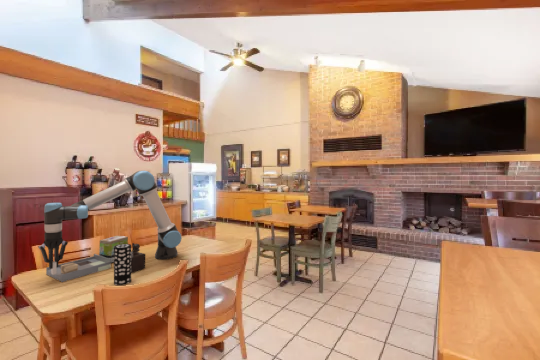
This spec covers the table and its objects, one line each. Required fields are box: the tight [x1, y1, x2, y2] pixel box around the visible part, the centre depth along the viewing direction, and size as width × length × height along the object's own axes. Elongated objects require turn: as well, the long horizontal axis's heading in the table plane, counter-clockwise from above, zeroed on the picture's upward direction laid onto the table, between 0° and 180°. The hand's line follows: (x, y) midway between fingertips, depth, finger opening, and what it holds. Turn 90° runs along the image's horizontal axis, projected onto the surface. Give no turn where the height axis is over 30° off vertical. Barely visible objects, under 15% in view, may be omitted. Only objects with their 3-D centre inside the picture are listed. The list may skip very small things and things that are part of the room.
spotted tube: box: [113, 243, 132, 286], centre depth 146 cm, size 8×8×20 cm
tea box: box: [98, 235, 129, 264], centre depth 183 cm, size 15×10×15 cm, turn 168°
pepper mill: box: [131, 242, 146, 274], centre depth 164 cm, size 16×11×18 cm
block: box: [61, 263, 78, 274], centre depth 153 cm, size 6×6×4 cm
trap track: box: [45, 253, 112, 283], centre depth 161 cm, size 20×26×6 cm
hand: (53, 273), depth 147 cm, fingers closed
